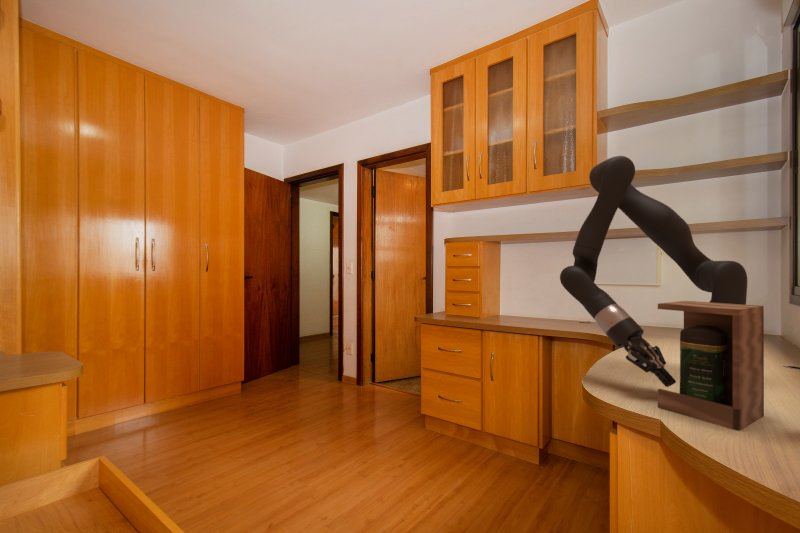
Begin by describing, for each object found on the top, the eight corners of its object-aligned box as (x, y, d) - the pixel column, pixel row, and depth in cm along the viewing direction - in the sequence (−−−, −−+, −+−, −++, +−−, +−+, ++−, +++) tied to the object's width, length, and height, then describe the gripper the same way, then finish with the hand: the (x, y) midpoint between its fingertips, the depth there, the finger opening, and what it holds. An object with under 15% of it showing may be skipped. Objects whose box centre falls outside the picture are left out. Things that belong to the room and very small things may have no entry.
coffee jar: (723, 421, 75) (722, 330, 75) (675, 410, 81) (675, 325, 81) (730, 409, 82) (730, 325, 82) (686, 399, 88) (685, 321, 88)
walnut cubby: (685, 396, 90) (685, 300, 90) (763, 415, 78) (763, 305, 78) (657, 407, 83) (657, 303, 83) (739, 430, 71) (739, 309, 71)
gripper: (614, 318, 91) (671, 380, 81) (641, 314, 98) (697, 372, 88) (593, 336, 96) (645, 397, 85) (620, 331, 103) (671, 388, 92)
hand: (671, 384), depth 87 cm, fingers closed
